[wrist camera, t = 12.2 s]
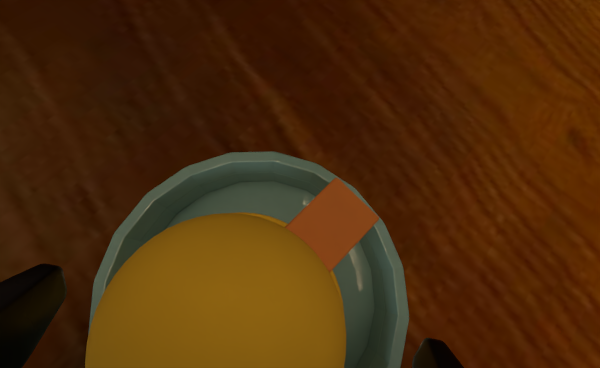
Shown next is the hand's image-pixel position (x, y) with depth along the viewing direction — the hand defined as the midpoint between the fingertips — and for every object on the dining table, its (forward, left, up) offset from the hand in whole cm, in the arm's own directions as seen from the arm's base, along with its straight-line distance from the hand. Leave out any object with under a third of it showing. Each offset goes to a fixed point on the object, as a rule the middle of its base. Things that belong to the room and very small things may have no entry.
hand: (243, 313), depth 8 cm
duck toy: (0, 0, -9) cm, 9 cm away
